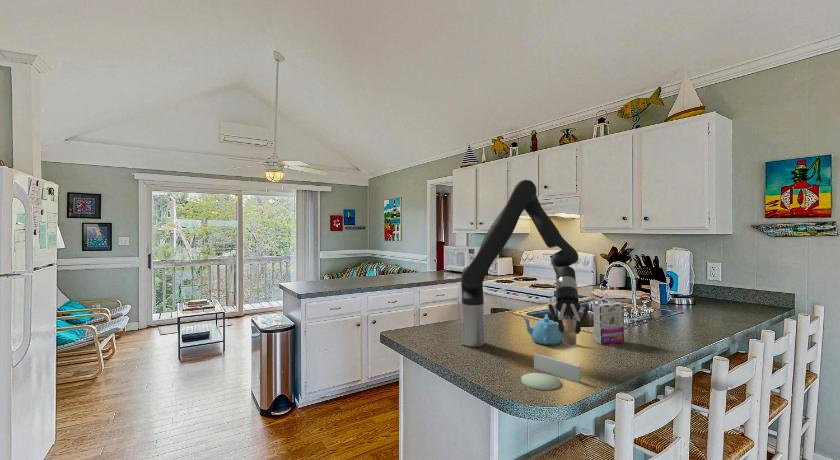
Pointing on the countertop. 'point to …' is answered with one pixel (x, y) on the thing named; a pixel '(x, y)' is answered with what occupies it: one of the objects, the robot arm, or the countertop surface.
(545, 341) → the teapot
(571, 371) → the frosted wall
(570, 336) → the beech cylinder
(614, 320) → the candy bar box
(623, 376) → the countertop surface
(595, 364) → the countertop surface
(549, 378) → the sage mat
